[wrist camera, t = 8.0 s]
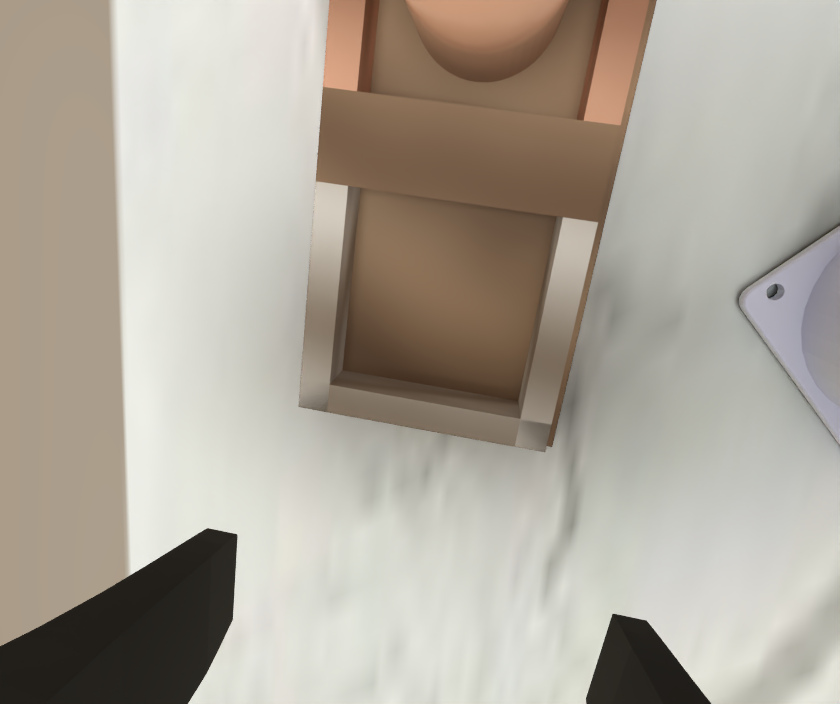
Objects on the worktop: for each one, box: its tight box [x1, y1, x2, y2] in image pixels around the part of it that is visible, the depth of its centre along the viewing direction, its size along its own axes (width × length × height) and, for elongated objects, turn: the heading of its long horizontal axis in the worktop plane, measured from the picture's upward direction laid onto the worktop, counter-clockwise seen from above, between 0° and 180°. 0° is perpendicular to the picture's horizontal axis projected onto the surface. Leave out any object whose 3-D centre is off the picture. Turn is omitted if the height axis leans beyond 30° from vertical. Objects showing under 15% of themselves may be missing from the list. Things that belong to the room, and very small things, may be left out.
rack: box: [299, 0, 657, 452], centre depth 16 cm, size 18×9×2 cm, turn 172°
